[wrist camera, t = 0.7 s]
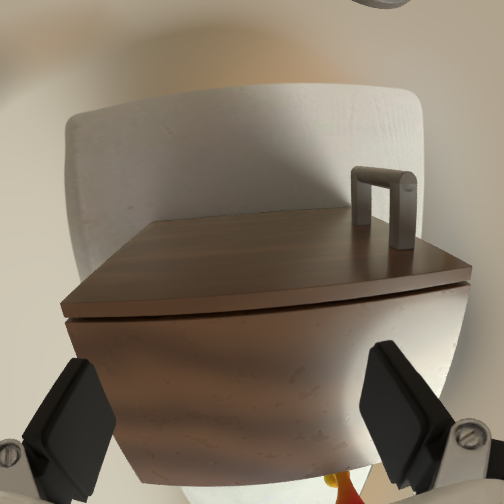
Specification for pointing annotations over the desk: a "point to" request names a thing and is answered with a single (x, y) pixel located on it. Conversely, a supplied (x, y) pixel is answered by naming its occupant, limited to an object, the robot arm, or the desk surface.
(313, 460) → the cupboard
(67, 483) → the robot arm
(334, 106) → the desk surface
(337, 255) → the door
